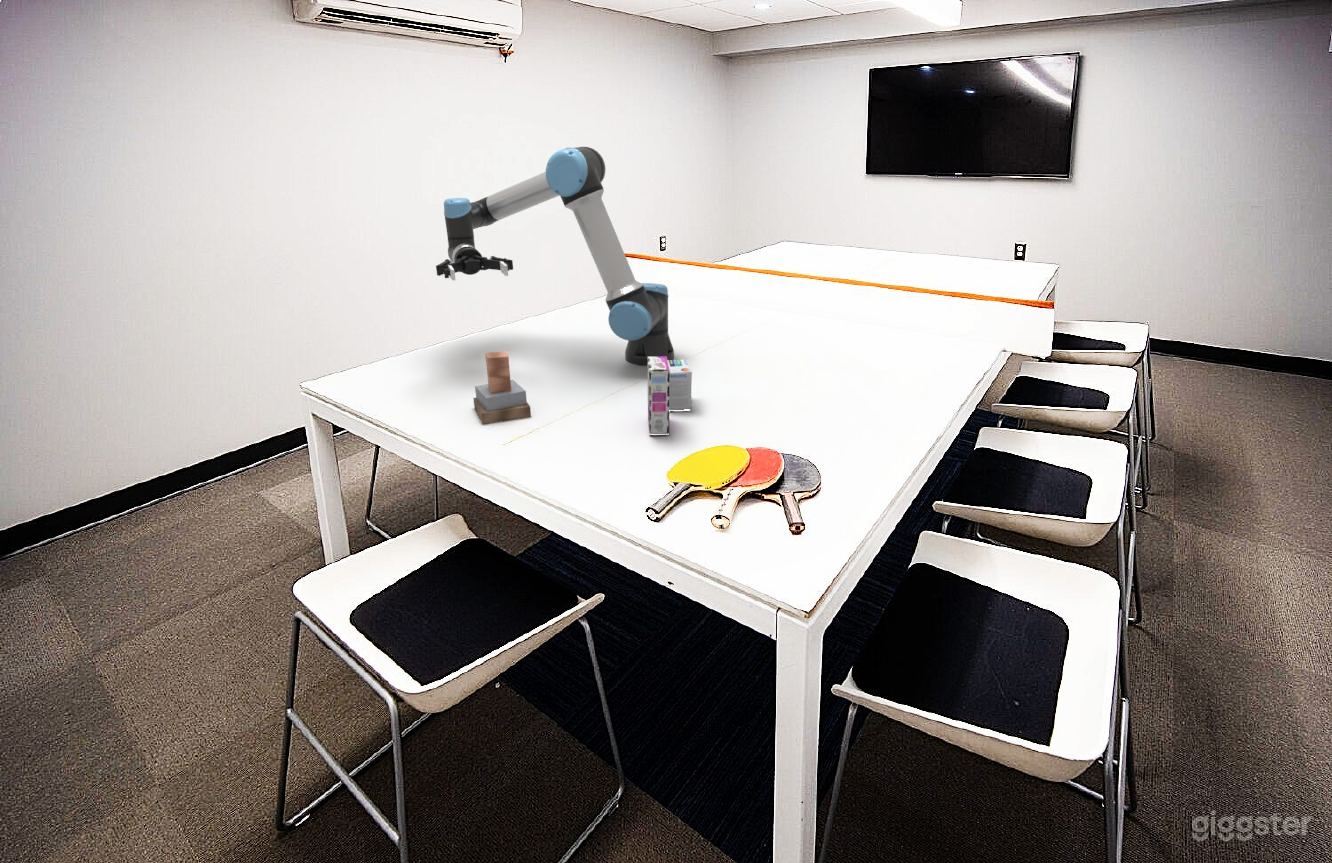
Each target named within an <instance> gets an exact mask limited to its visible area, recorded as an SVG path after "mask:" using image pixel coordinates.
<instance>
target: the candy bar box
mask: <svg viewBox="0 0 1332 863" xmlns="http://www.w3.org/2000/svg"><path fill="white" fill-rule="evenodd" d="M669 391H670V370H669V366H668V360H667V356H653V357H648V365H647V422H648V423H647V424H648V433H650V434H668V433H669V434H670V412H669Z"/></svg>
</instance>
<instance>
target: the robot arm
mask: <svg viewBox="0 0 1332 863" xmlns="http://www.w3.org/2000/svg"><path fill="white" fill-rule="evenodd" d="M605 175H606V164H605V161H604V158H603V157H602V155H601V154H600V152H598V150H596V149H594V148H592V147H588V146H579V147H578V146H577V147H565V148H561V149H560V150H558V151H555V152H554V153H553V154H551V156H550V157H549V158H548V160H547V164H546V167H545V171H544V172H542V173H539V174H536V175H535V176H533V177H530V178H528V179H525V180H523V181H520V182H519V183H517V184H514V185H511V186H509V187H507V188H505V189H502V190H500V191H498V192H495V193H492V194H491V195H489V196H485V197H483V198H481V199H478V200H475V201H472V202H471V201H470V199H468V198H466V197H452V198H451V197H450V198H446V199H444V202H443V211H444V212H443V215H444V222H445V227H446V228H445V229H446V234H447V245H448V247H447V254H448V258H449V259H448V258H446V259H444V261H442V262H441V263H439V264H437V265H435V270H436V275H437V277H438V276H444V279H451V281H456V273H462V274H465V275H469V276H472V275H476V274H477V273H479V272H480V271H487V270H494V271H500V272H501V273H502V274H503V275H504V277H507V276H509V272H510V271H513V270H514V263H513V260H512V259H508V258H506V257H504V258H501V257H496V256H495V255H491V256H490V257H489V259H488V257H487V256H483V255H482V254H481V253H480V252H479V250H478V249H477V248H476V244H475V233H474V230H475V229H479V228H482V227H488V226H491V225H493V224H494V223H496V222H498V221H501V220H503V219H505V218H508V217H510V216H513V215H515V214H517V213H520V212H522V211H525V210H527V209H530V208H532V207H535V206H537V205H539V204H542V203H545V202H548V201H550V200H552V199H555V198H557V197H560V198H561V201H562V204H563V206H564V208H566V209H569V210H571V211H572V212H573V215H574V218H575V220H576V222H577V224H578V226H579V228H580V231H581V233H582V236H583V238H584V240H585V243H586V245H587V247H588V249H589V252H590V256H592V259H593V261H594V264H595V266H596V268H597V270H598V273H599V275H600V278H601V280H602V283H603V284H604V287H605V289H606V291H607V295H606V297H605V299H604V300H605V303H606V305H607V308H608V311H609V312H608V313H609V314H608V318H607V319H608V324H609V325H608V326H609V328H610V330H611V331H612V332H613V334H614V335H616V336H617V337H618V338H620V339H622V340H625V341H628V342H627V344H626V347H625V352H624V355H625V358H624V359H625V361H627V362H629V363H631V364H636V365H644V366H645V365H646V366H648V357H653V356H667V360H675V350H674V346H673V343H672V341H671V338H670V335H669V289H668V287H667V286H666V285H665V284H661V283H653V282H650V283H649V282H639V281H637V280H636V279H635V277H634V274H633V271H632V269H631V266H630V264H629V261H628V259H627V257H626V254H625V252H624V250H623V246H622V245H621V242H620V239H619V237H618V235H617V232H616V230H615V228H614V226H613V223H612V221H611V218H610V216H609V213H608V211H607V209H606V206H605V204H604V201H603V199H602V197H603V194H604V192H605V189H604V187H603V184H602V183H603V181H604V179H605Z"/></svg>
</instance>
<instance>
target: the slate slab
mask: <svg viewBox="0 0 1332 863" xmlns="http://www.w3.org/2000/svg"><path fill="white" fill-rule="evenodd" d="M510 381H511V391H508V392H499V393H491V392H490V389H489V386H488V383H486V384H481V385H474V391H475V398H476V399H477V400H478V401H479V402H480V404H481V405H482V406H483V407H484V408H485V409H486V410H487V411H493V410H499V409H504V408H509V407H514V406H519V405H524V404H527V403H528V401H527V390H525V389H524V388H523V387H522V386H521V385H520V384H518V383H517V382H516V381H515V380H514V379H510Z"/></svg>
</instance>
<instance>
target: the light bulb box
mask: <svg viewBox="0 0 1332 863" xmlns="http://www.w3.org/2000/svg"><path fill="white" fill-rule="evenodd" d="M668 366H669V370H670V391H669V410H684V409H691V410H692V381H693V379H692V378H693V376H692V374H693V372H692V369H691V365H690V363H689V360H688V359H686V358H685V359H673V360H668Z"/></svg>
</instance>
